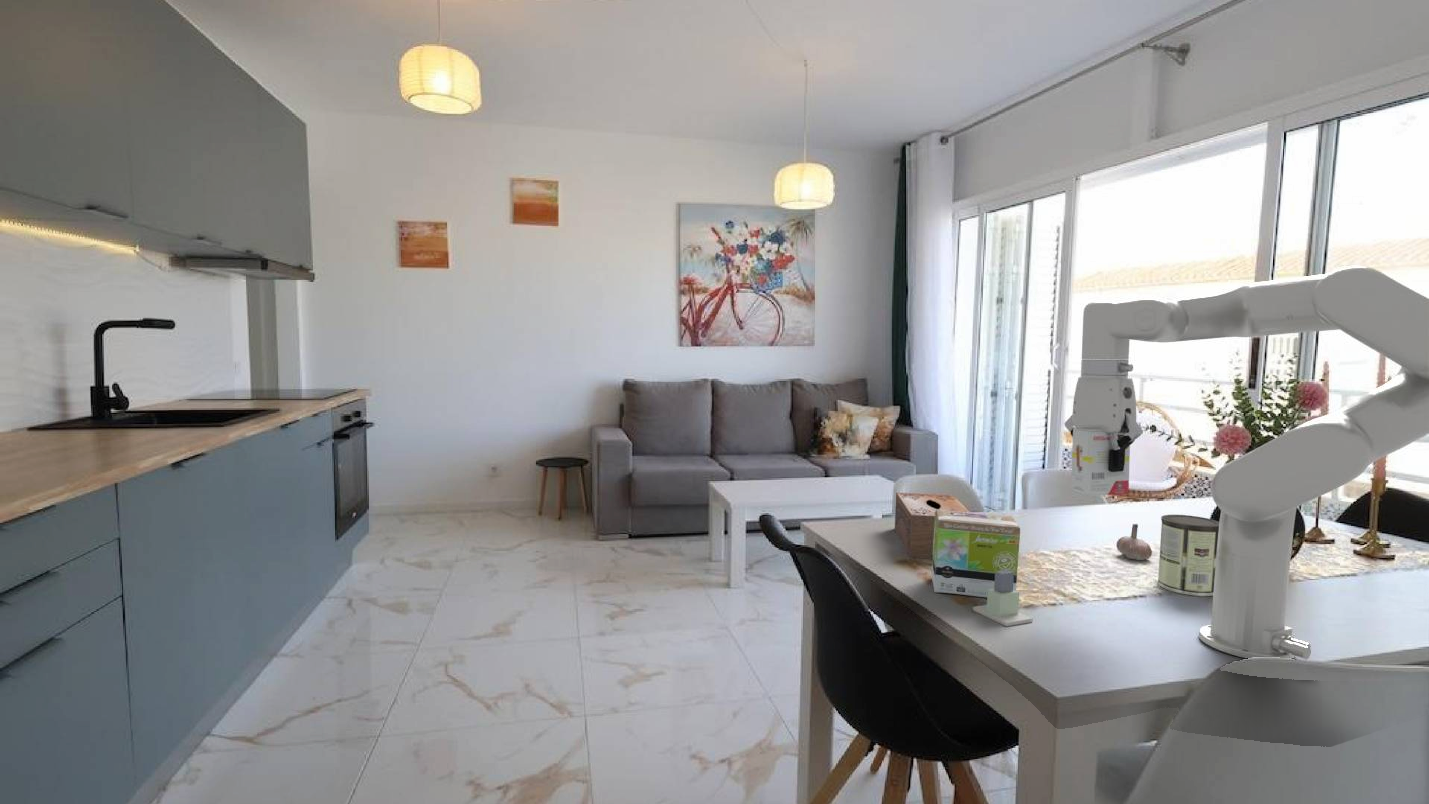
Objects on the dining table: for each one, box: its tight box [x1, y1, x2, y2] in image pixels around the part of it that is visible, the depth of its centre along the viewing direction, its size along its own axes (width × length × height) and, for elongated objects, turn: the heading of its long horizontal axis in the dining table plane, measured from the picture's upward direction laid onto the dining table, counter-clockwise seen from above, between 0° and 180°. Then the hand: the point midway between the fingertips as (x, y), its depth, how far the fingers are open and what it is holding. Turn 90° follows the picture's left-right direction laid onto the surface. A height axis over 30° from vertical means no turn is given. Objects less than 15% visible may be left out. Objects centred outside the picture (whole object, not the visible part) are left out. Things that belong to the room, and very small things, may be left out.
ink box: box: [1070, 429, 1131, 496], centre depth 130 cm, size 9×5×12 cm, turn 99°
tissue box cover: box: [894, 492, 971, 559], centre depth 174 cm, size 26×14×10 cm, turn 173°
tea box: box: [930, 510, 1021, 598], centre depth 141 cm, size 15×10×15 cm, turn 76°
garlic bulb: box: [1116, 523, 1153, 561], centre depth 166 cm, size 8×7×8 cm
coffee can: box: [1157, 514, 1220, 597], centre depth 145 cm, size 10×10×14 cm
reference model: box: [972, 570, 1034, 627], centre depth 127 cm, size 8×6×8 cm
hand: (1100, 467), depth 131 cm, fingers closed on ink box, 5 cm apart
